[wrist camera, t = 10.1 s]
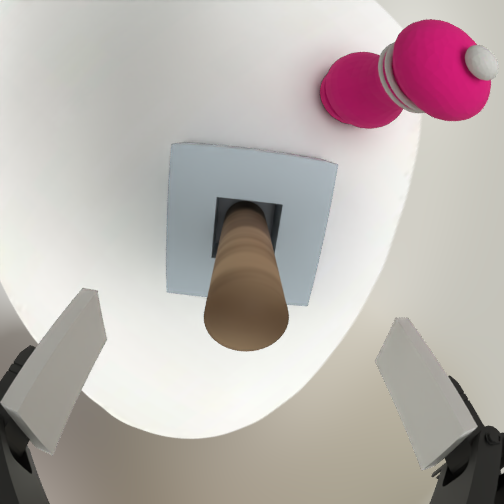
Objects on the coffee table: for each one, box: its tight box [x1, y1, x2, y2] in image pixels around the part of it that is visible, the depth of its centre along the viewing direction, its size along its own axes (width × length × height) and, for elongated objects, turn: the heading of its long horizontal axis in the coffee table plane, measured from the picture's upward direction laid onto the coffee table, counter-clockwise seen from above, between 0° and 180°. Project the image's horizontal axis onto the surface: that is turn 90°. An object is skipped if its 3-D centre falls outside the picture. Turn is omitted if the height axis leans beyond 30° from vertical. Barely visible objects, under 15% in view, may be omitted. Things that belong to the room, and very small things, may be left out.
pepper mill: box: [320, 19, 499, 129], centre depth 15 cm, size 7×7×20 cm
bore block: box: [166, 143, 338, 306], centre depth 27 cm, size 14×14×5 cm
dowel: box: [204, 201, 289, 351], centre depth 21 cm, size 4×4×17 cm
